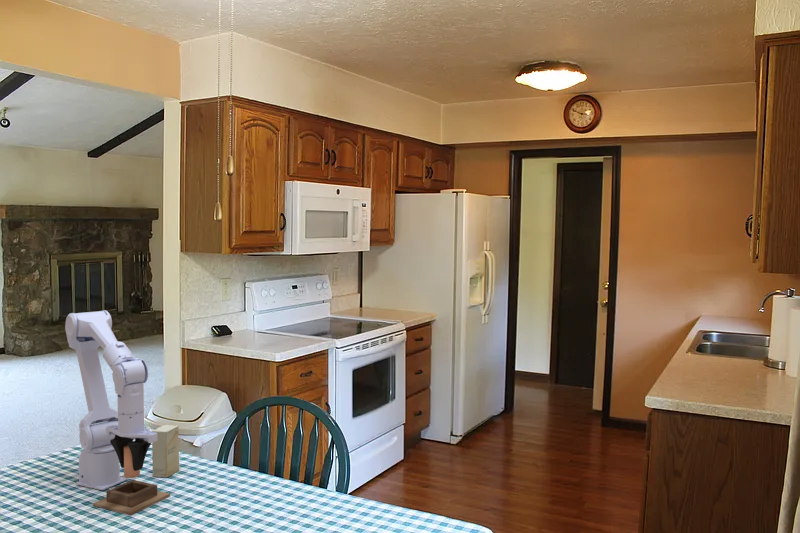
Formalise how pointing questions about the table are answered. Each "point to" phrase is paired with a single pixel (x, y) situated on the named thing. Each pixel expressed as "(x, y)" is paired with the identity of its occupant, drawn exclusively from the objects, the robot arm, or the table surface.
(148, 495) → the holder
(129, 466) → the peg
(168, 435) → the skincare box
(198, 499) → the table surface
